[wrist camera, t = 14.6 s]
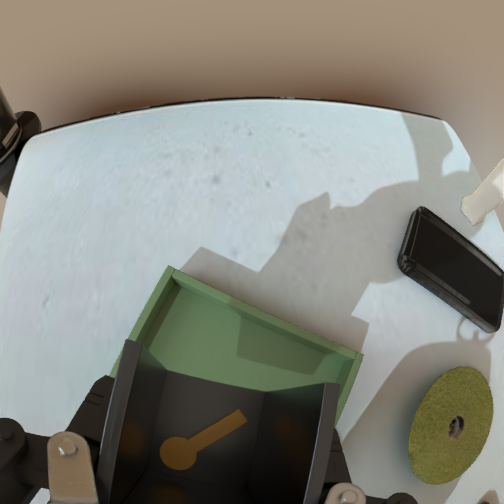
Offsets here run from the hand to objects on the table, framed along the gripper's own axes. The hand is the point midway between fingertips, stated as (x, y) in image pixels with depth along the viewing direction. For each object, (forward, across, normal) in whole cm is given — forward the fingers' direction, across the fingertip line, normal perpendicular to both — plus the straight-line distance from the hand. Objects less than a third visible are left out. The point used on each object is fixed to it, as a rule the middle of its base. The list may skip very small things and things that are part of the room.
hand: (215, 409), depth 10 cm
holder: (+2, 0, +4) cm, 5 cm away
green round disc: (+6, -22, +7) cm, 24 cm away
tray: (+8, -1, +7) cm, 11 cm away
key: (+1, 0, +4) cm, 4 cm away
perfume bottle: (+21, -26, -12) cm, 36 cm away
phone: (+16, -22, -5) cm, 27 cm away
